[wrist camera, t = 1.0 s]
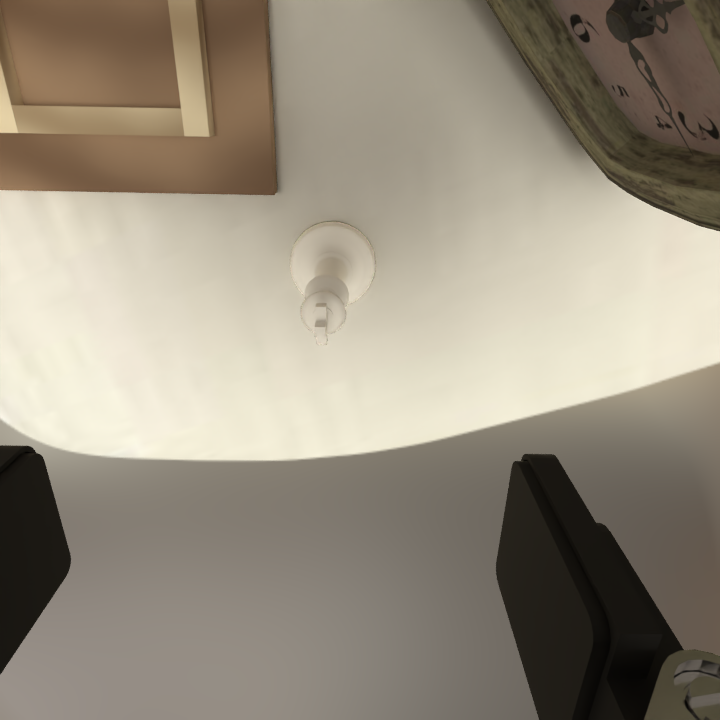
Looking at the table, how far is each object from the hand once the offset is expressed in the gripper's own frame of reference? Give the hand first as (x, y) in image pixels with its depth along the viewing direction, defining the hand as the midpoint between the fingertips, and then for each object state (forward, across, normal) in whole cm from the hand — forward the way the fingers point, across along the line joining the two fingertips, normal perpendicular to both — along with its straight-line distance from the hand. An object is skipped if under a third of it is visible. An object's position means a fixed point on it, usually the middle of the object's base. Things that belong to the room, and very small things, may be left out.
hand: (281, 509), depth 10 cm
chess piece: (+21, 0, 0) cm, 21 cm away
